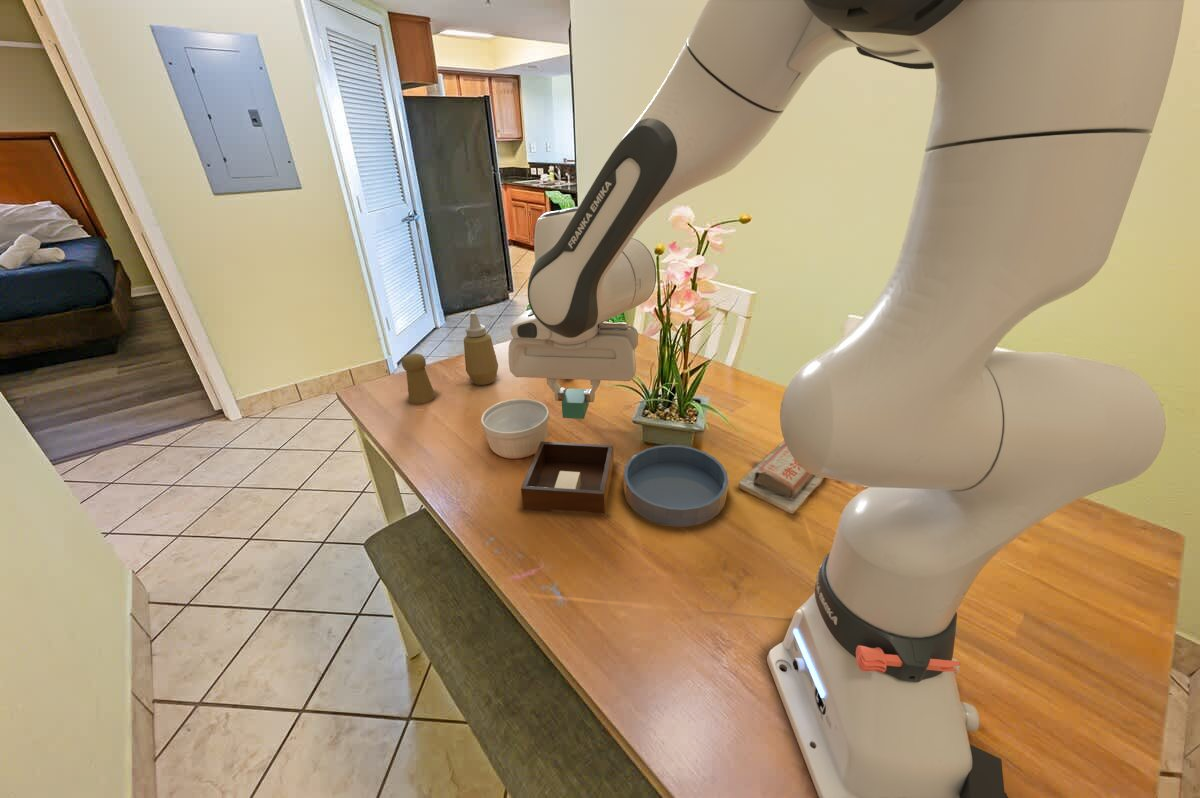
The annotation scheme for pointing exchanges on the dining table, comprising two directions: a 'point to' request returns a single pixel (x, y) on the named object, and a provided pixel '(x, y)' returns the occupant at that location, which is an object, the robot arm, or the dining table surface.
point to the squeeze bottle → (479, 353)
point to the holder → (573, 458)
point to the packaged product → (780, 480)
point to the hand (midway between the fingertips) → (575, 400)
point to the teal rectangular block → (574, 404)
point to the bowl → (675, 485)
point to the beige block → (568, 480)
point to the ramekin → (516, 427)
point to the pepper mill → (417, 379)
